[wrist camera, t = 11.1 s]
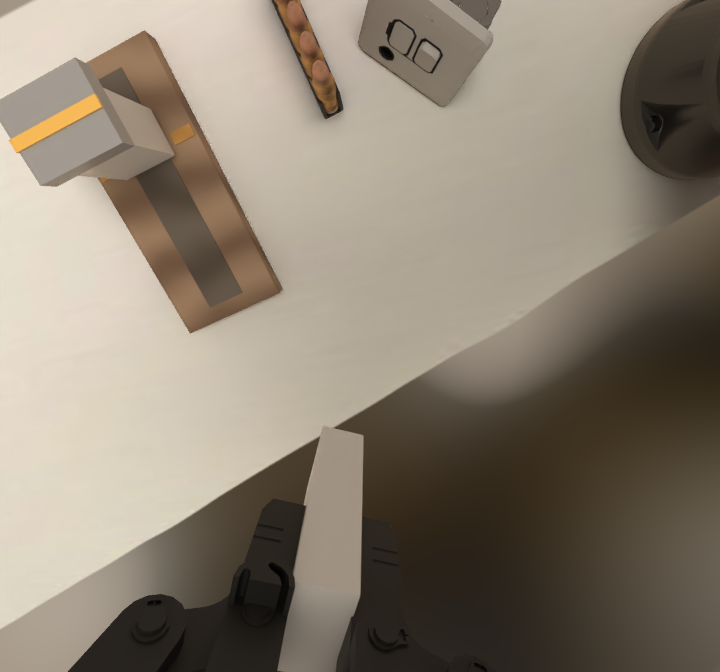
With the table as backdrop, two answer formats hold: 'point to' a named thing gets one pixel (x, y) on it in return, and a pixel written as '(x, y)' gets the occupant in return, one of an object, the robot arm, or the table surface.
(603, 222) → the table surface
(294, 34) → the ammunition clip
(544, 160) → the table surface
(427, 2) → the electrical switch
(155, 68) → the fader console
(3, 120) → the fader tab
